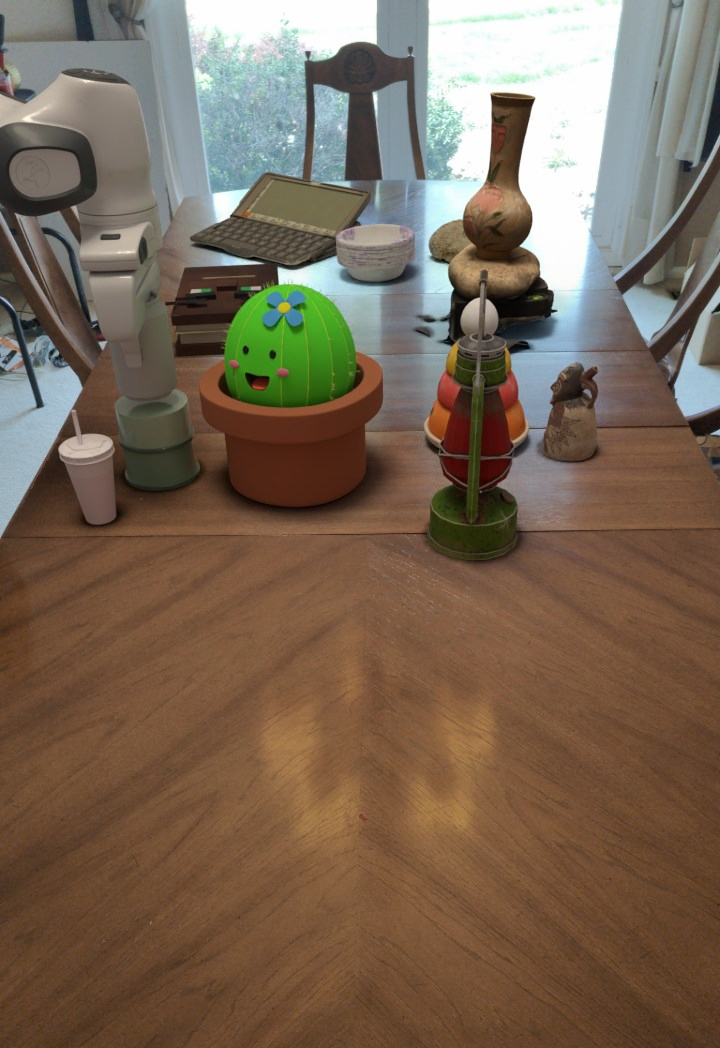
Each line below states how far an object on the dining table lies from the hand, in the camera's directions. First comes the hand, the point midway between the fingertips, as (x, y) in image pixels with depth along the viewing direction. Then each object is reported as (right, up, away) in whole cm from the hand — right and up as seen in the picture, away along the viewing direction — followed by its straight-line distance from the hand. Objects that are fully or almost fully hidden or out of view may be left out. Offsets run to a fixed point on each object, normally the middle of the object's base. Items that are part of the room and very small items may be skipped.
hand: (141, 351), depth 119 cm
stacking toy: (+42, -8, +15) cm, 46 cm away
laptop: (+9, +50, +93) cm, 106 cm away
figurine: (+55, -10, +12) cm, 57 cm away
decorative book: (+4, +20, +53) cm, 57 cm away
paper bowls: (+30, +36, +73) cm, 87 cm away
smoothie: (-5, -20, +2) cm, 21 cm away
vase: (+49, +19, +49) cm, 72 cm away
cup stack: (+1, -13, +10) cm, 17 cm away
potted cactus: (+19, -14, +8) cm, 25 cm away
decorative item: (+47, +42, +80) cm, 102 cm away
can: (0, -4, +3) cm, 5 cm away
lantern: (+40, -23, -4) cm, 46 cm away
